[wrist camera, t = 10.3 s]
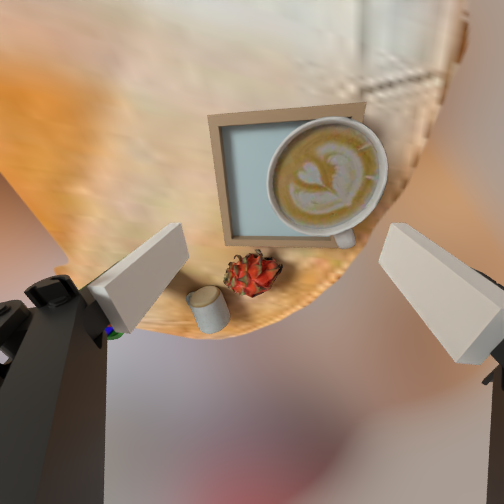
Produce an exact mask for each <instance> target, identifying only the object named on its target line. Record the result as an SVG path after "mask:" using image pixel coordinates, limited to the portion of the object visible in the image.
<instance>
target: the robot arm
mask: <svg viewBox="0 0 504 504" xmlns="http://www.w3.org/2000/svg"><path fill="white" fill-rule="evenodd" d="M188 259H189V253H188V249H187V245H186V241H185V238H184V234H183V230H182V226H181V223H169V224H168V225H167V226H166V227H164V228H163V229H162V230H160V231H159V232H158V233H156V234H155V235H154V236H152V237H151V238H150V239H148V240H147V241H146V242H145V243H143V244H142V245H141V246H139V247H138V248H137V249H135V250H134V251H133V252H131V253H130V254H129V255H127V256H126V257H125V258H124V259H122V260H121V261H119V262H117V263H116V264H114V265H113V266H112V267H110V268H109V269H108V270H106V271H105V272H104V273H103V274H101V275H100V276H98V277H97V278H96V279H94V280H93V281H92V282H90V283H89V284H88V285H87V286H85V287H84V288H83V289H81V290H80V291H79V290H78V289H77V287H76V286H75V284H74V283H73V281H72V280H71V278H70V277H69V276H68V275H57V276H52V277H49V278H46V279H43V280H41V281H39V282H37V283H35V284H33V285H32V286H30V287H29V288H27V289H26V290H25V292H24V293H25V294H26V295H27V297H28V298H29V299H30V300H31V301H32V302H33V304H34V305H35V306H36V307H34V308H27V307H26V306H25V305H24V303H23V302H22V301H20V300H11V301H7V302H2V303H0V350H1V351H2V352H3V353H4V354H5V355H7V356H8V357H9V359H8V360H7V361H6V362H5V363H4V364H1V363H0V504H103V503H104V502H103V501H104V461H105V459H104V458H105V419H106V377H107V375H106V374H107V333H106V331H105V328H106V327H107V326H108V325H109V324H111V326H112V327H113V329H114V330H115V332H119V333H131V332H132V331H133V330H134V328H135V327H136V326H137V324H138V323H139V322H140V321H141V319H142V318H143V317H144V315H145V314H146V313H147V312H148V310H149V309H150V308H151V306H152V305H153V304H154V302H155V301H156V300H157V299H158V297H159V296H160V295H161V293H162V292H163V291H164V290H165V288H166V287H167V286H168V284H169V283H170V282H171V280H172V279H173V278H174V277H175V275H176V274H177V273H178V271H179V270H180V269H181V268H182V266H183V265H184V264H185V262H186V261H187V260H188ZM378 263H379V264H380V265H381V266H382V268H383V269H384V270H385V272H386V273H387V274H388V276H389V277H390V278H391V280H392V281H393V282H394V283H395V285H396V286H397V287H398V289H399V290H400V291H401V292H402V294H403V295H404V296H405V298H406V299H407V300H408V302H409V303H410V304H411V305H412V307H413V308H414V309H415V311H416V312H417V313H418V315H419V316H420V317H421V318H422V319H423V321H424V322H425V324H426V325H427V326H428V327H429V329H430V330H431V331H432V333H433V334H434V335H435V336H436V338H437V339H438V340H439V342H440V343H441V344H442V346H443V347H444V348H445V349H446V351H447V352H448V353H449V355H450V356H451V357H452V359H454V361H455V362H456V363H463V364H475V365H481V364H482V363H483V362H484V360H485V359H486V358H487V357H488V356H489V355H490V354H491V355H492V356H493V357H494V359H495V360H496V361H497V362H498V363H499V365H498V366H497V367H496V368H495V369H494V370H493V371H492V372H491V373H490V374H489V375H488V376H487V377H486V378H484V380H483V381H482V383H483V384H484V385H487V384H488V383H489V382H493V394H492V413H491V430H490V447H489V467H488V484H487V503H486V504H504V287H503V286H502V285H500V284H497V283H496V281H494V280H492V279H491V278H490V277H488V276H487V275H485V274H484V273H482V272H479V271H477V270H475V269H473V268H471V267H469V266H467V265H466V264H464V263H463V262H462V261H460V260H459V259H457V258H456V257H454V256H453V255H451V254H450V253H449V252H447V251H446V250H444V249H443V248H441V247H440V246H438V245H437V244H435V243H434V242H433V241H431V240H430V239H428V238H427V237H425V236H424V235H422V234H421V233H420V232H418V231H417V230H415V229H414V228H412V227H411V226H409V225H408V224H406V223H391V225H390V228H389V231H388V234H387V237H386V240H385V243H384V246H383V249H382V252H381V255H380V258H379V261H378Z"/></svg>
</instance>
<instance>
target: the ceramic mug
mask: <svg viewBox="0 0 504 504" xmlns="http://www.w3.org/2000/svg"><path fill="white" fill-rule="evenodd" d="M186 301H187V303H188V305H189V307H190V308H191V310H192V312H193V314H194V317H195V320H196V322H197V325H198V327H199V329H200V330H201V331H202V332H203V333H206V334H212V333H216V332H218V331H220V330H222V329H223V328H224V327H225V326H226V325H227V324H228V322H229V320H230V312H229V309H228V307H227V304H226V302H225V300H224V297H223V294H222V292H221V291H220V289H219V288H218V287H215V286H205V287H202V288H200V289H198V290H197V291H196V292H190V293H189V294H188V295H187V296H186Z"/></svg>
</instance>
